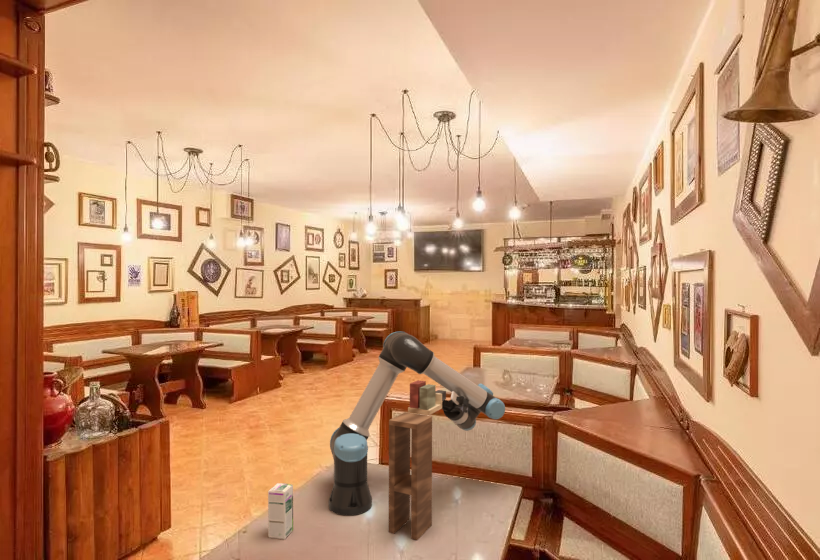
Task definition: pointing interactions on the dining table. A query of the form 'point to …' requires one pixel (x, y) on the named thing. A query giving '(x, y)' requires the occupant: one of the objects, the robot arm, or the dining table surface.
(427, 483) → the walnut shelf
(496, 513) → the dining table surface
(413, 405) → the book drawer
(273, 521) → the syrup box
